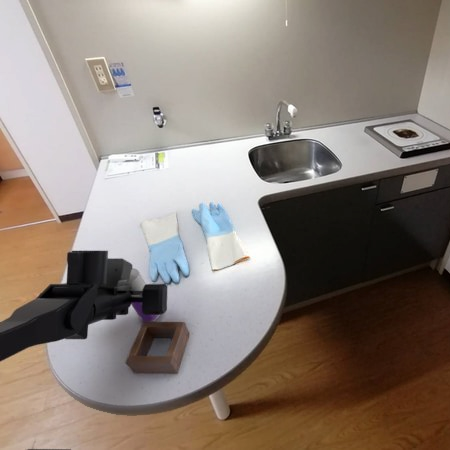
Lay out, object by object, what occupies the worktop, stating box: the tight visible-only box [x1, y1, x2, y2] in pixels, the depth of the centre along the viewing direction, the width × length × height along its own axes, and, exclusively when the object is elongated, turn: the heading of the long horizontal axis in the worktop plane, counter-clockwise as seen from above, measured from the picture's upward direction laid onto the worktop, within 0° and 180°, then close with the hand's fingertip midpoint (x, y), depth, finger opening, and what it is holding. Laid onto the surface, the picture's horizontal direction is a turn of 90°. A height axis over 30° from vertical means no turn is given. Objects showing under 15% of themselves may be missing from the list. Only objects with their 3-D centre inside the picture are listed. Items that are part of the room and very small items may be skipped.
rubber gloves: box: [140, 201, 251, 284], centre depth 95 cm, size 27×33×6 cm
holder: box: [124, 321, 190, 374], centre depth 67 cm, size 9×9×5 cm
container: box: [128, 267, 161, 323], centre depth 72 cm, size 5×5×15 cm
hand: (141, 293), depth 72 cm, fingers open, 9 cm apart
